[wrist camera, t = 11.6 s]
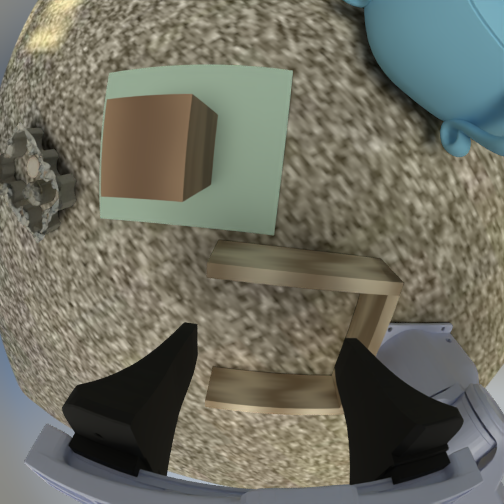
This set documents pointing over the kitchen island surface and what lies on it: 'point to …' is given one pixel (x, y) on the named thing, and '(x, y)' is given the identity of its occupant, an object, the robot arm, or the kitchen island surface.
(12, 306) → the kitchen island surface
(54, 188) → the egg carton
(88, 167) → the kitchen island surface
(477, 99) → the decorative pot
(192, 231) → the kitchen island surface
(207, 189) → the sage mat
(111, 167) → the walnut block
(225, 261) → the open-side box
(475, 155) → the kitchen island surface
